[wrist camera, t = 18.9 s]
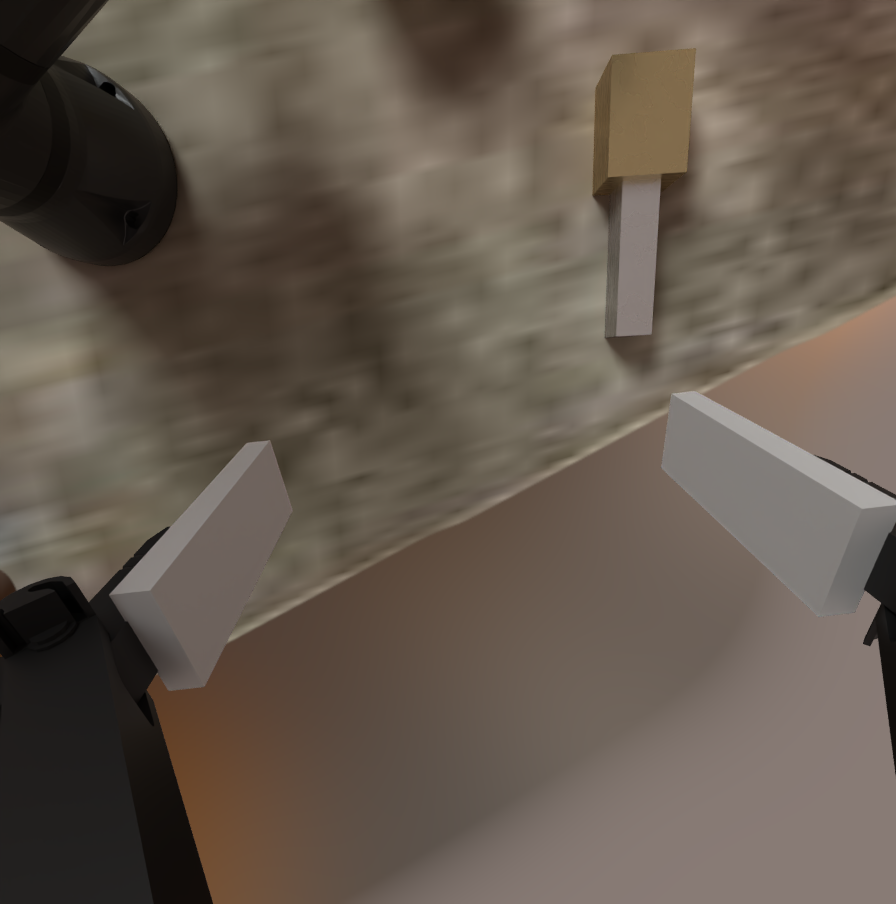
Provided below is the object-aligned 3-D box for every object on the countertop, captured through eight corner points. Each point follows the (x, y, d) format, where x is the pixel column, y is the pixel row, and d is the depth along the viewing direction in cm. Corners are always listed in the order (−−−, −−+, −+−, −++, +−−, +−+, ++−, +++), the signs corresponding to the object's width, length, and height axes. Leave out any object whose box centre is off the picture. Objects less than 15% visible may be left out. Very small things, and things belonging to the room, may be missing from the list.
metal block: (588, 338, 39) (602, 336, 35) (595, 88, 35) (612, 55, 31) (653, 335, 39) (674, 333, 35) (669, 82, 34) (695, 48, 31)
